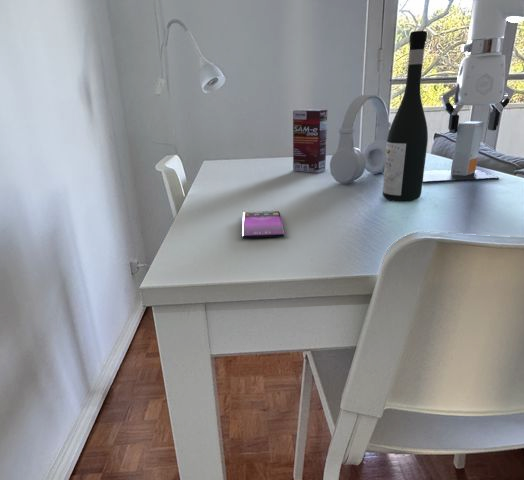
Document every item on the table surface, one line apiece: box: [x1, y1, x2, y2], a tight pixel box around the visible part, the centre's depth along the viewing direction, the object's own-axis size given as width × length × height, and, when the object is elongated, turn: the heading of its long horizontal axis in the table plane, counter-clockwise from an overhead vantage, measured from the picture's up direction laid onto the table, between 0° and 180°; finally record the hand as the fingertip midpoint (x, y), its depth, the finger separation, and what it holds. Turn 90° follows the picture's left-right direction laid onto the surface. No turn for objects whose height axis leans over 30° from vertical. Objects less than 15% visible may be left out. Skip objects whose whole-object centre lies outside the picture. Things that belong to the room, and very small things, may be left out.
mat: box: [422, 169, 500, 185], centre depth 121 cm, size 22×14×1 cm, turn 93°
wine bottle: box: [382, 30, 429, 203], centre depth 94 cm, size 8×8×30 cm
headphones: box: [329, 94, 392, 185], centre depth 119 cm, size 20×8×19 cm, turn 138°
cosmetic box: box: [450, 121, 485, 176], centre depth 118 cm, size 6×4×12 cm
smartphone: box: [241, 210, 285, 239], centre depth 85 cm, size 7×15×1 cm, turn 1°
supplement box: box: [292, 108, 328, 174], centre depth 133 cm, size 9×5×16 cm, turn 55°
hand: (472, 131), depth 116 cm, fingers open, 9 cm apart
